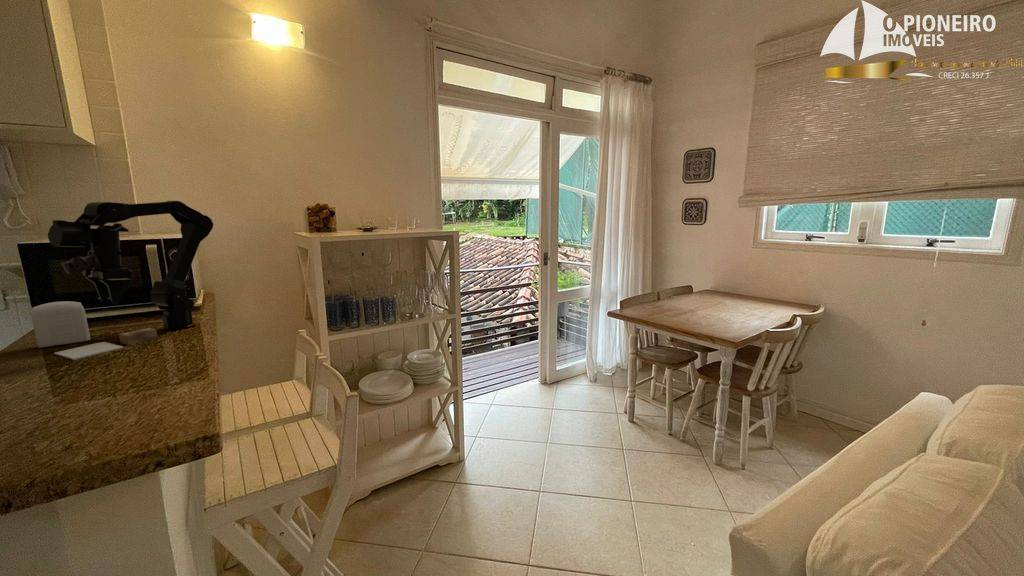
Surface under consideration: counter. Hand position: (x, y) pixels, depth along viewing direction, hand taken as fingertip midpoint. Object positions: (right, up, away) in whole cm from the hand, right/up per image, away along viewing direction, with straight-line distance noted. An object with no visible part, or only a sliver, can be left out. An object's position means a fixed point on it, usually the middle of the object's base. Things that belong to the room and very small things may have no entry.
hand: (109, 302), depth 112 cm
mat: (-2, -13, -4) cm, 14 cm away
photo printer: (-16, -12, +3) cm, 20 cm away
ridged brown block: (+3, -12, +6) cm, 14 cm away
